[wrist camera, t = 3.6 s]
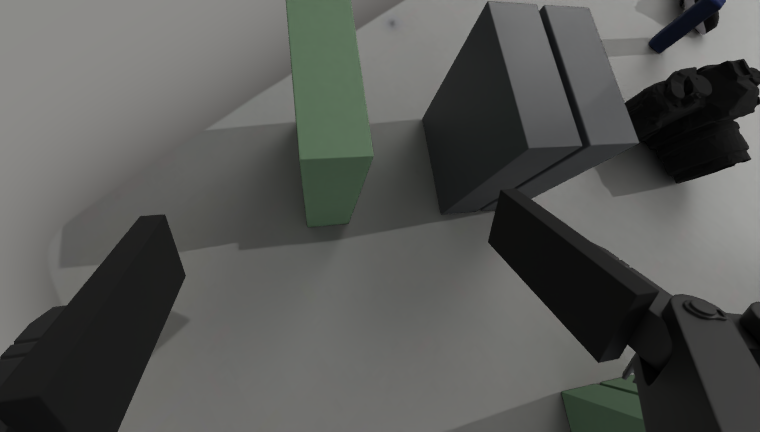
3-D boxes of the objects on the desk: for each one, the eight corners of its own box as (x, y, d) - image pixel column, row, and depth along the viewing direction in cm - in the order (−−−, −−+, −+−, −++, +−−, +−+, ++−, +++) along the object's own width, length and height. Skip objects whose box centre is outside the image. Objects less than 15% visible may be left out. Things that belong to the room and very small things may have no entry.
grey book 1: (440, 214, 30) (528, 148, 17) (422, 118, 32) (487, 0, 20) (475, 211, 30) (583, 146, 18) (454, 117, 33) (537, 3, 21)
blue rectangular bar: (646, 43, 41) (707, -5, 35) (653, 35, 42) (714, -14, 36) (658, 55, 41) (722, 8, 35) (666, 46, 42) (729, -1, 36)
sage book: (307, 227, 27) (299, 159, 15) (298, 121, 30) (284, -12, 17) (348, 223, 28) (374, 156, 16) (336, 120, 30) (349, -8, 18)
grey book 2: (480, 211, 30) (590, 145, 18) (459, 117, 33) (543, 4, 21) (513, 208, 31) (640, 143, 19) (490, 116, 34) (589, 6, 21)
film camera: (621, 198, 34) (723, 161, 25) (584, 117, 36) (667, 59, 28) (720, 173, 38) (838, 134, 29) (682, 101, 40) (781, 45, 31)
